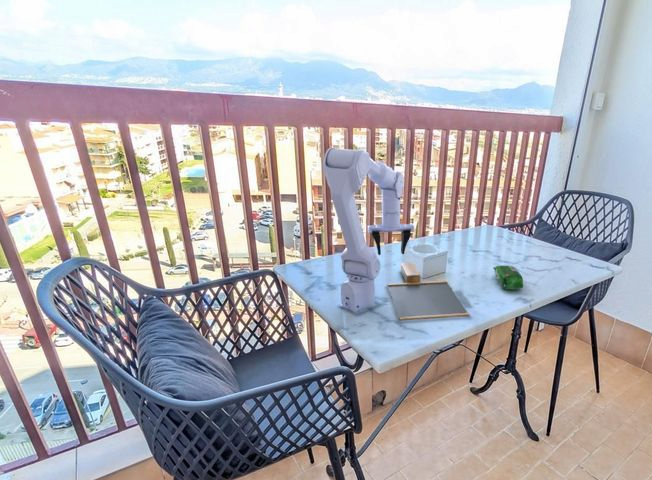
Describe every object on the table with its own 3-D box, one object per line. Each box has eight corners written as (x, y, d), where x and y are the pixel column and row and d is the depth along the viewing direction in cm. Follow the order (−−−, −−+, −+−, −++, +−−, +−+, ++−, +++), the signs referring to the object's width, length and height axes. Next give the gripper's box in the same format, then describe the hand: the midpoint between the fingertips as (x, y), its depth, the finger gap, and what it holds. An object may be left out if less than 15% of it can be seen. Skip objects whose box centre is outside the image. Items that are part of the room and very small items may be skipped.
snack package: (511, 275, 143) (513, 261, 140) (524, 293, 129) (526, 278, 126) (491, 275, 142) (493, 261, 140) (502, 293, 129) (504, 278, 126)
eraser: (406, 285, 133) (406, 275, 131) (400, 272, 143) (401, 263, 142) (419, 284, 134) (420, 274, 132) (413, 271, 144) (413, 262, 142)
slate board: (399, 322, 110) (399, 318, 109) (387, 287, 131) (387, 283, 131) (469, 318, 113) (469, 314, 112) (446, 284, 134) (446, 280, 134)
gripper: (411, 208, 128) (410, 248, 134) (366, 209, 126) (367, 250, 132) (415, 213, 122) (414, 255, 128) (368, 214, 119) (369, 257, 126)
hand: (390, 253), depth 129 cm, fingers open, 7 cm apart
